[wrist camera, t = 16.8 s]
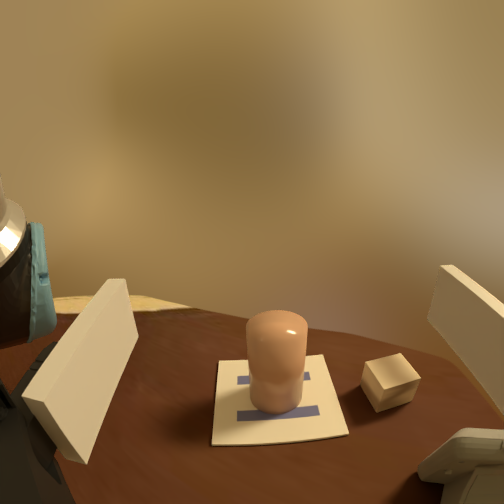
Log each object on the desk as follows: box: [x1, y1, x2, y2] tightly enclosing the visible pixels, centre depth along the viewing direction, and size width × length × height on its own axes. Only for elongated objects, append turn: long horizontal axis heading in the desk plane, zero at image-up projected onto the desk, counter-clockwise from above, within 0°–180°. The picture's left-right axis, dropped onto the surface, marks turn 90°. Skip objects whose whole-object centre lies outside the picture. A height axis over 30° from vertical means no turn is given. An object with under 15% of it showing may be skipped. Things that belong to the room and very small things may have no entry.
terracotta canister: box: [246, 310, 308, 414], centre depth 31 cm, size 6×6×10 cm
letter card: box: [212, 355, 349, 446], centre depth 33 cm, size 14×14×1 cm
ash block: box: [360, 353, 421, 413], centre depth 31 cm, size 5×5×4 cm
